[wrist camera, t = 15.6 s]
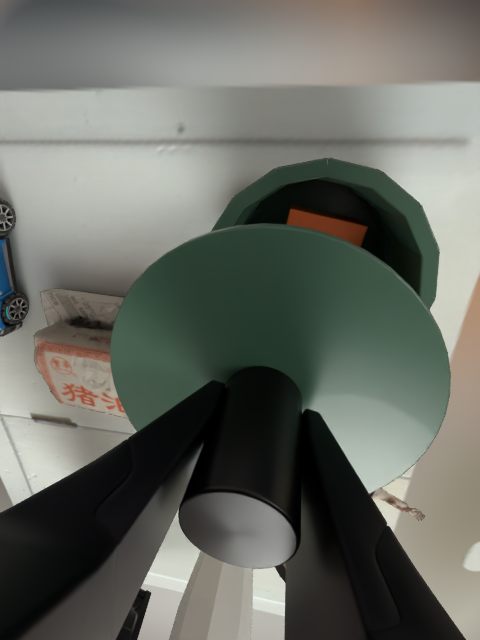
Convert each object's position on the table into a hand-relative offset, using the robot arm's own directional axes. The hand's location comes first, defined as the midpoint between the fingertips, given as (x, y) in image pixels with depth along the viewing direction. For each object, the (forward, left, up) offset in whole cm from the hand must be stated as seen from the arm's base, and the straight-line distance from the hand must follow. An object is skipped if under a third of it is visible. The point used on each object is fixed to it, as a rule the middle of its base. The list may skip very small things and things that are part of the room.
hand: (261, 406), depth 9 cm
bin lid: (0, 0, -1) cm, 1 cm away
